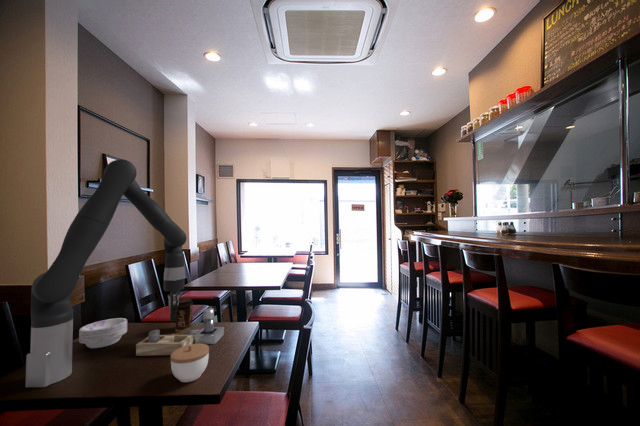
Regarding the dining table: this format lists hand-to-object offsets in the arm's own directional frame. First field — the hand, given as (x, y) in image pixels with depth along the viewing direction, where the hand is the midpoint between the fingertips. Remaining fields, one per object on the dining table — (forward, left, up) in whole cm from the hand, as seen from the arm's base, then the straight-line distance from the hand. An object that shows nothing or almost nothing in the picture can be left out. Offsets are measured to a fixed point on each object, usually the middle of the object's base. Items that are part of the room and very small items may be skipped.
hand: (173, 320), depth 107 cm
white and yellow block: (+1, -5, -8) cm, 10 cm away
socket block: (+1, -14, -8) cm, 16 cm away
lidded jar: (-26, -21, -9) cm, 34 cm away
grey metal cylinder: (+1, -14, -8) cm, 17 cm away
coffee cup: (+13, +3, -9) cm, 16 cm away
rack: (-8, -2, -8) cm, 11 cm away
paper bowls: (-1, +28, -9) cm, 30 cm away
